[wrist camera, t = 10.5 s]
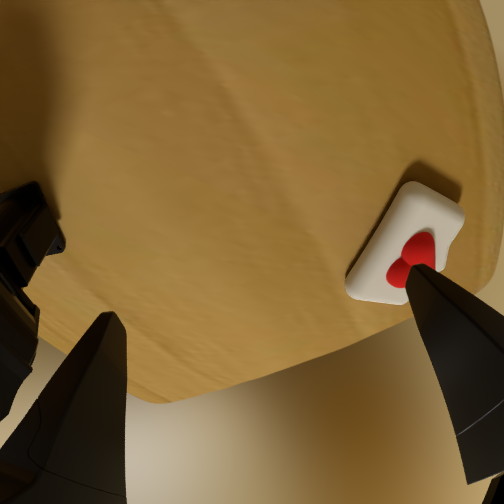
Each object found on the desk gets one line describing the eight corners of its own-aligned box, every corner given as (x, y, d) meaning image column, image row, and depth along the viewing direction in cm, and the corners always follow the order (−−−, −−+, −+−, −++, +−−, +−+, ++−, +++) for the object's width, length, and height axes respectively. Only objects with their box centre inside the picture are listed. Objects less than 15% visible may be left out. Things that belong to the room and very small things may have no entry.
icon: (421, 321, 27) (350, 316, 24) (404, 293, 31) (335, 282, 28) (490, 230, 20) (431, 196, 18) (464, 205, 24) (401, 170, 21)
